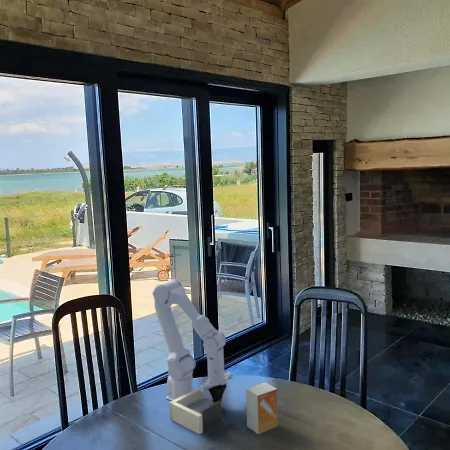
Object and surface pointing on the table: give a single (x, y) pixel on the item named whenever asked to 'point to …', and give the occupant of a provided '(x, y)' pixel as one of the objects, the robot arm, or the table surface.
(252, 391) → the small box
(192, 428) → the cream corner tray
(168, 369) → the robot arm
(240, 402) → the table surface
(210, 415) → the bookend
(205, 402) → the book
